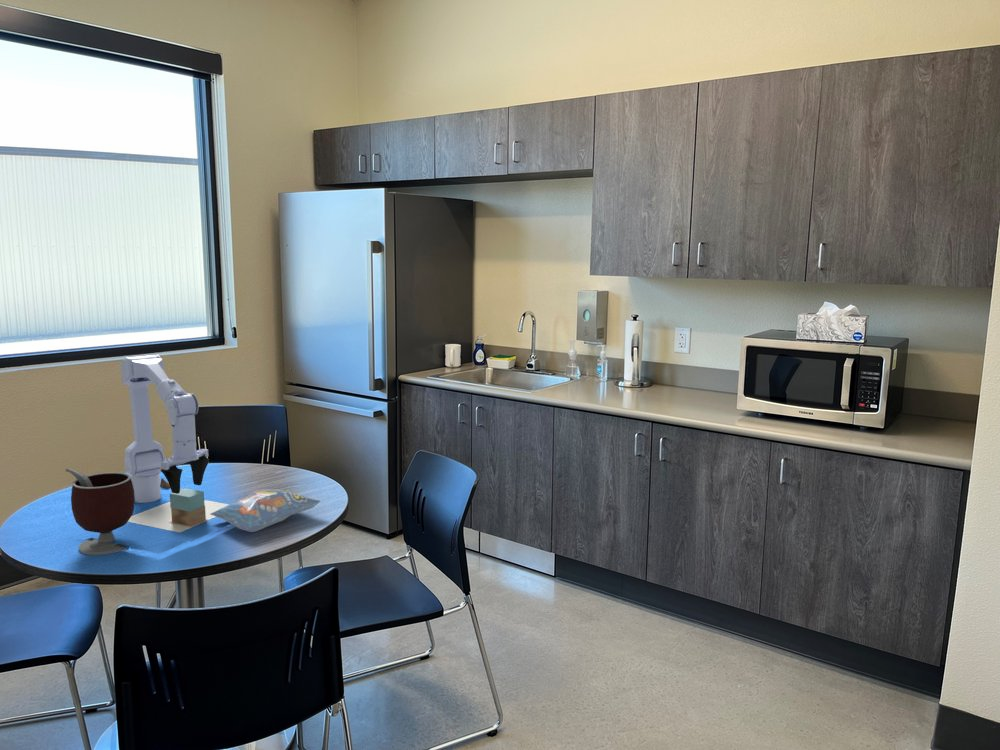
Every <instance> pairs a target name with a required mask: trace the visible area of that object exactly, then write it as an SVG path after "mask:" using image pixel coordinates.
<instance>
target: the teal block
mask: <svg viewBox="0 0 1000 750" xmlns="http://www.w3.org/2000/svg"><path fill="white" fill-rule="evenodd" d="M204 500H205V492H204V491H202V490H201V491H200V490H195V489H191V488H190V489H189V488H185V487H184V488H180V493H178V494H176V493H172V492H170V493H169V502H170V507H171V508H174V509H179V510H185V511H190V512H191V511H193V510H196V509H198V508H201V507H203V506H205V504H204Z"/></svg>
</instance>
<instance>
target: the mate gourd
mask: <svg viewBox="0 0 1000 750" xmlns="http://www.w3.org/2000/svg"><path fill="white" fill-rule="evenodd" d="M65 472H68V473H70V474H71V475H73V477H75V478H76V479H74V480H73V482H71V483H72V488H71V493H70V495H71V496H70V503H71V511H72V512H71V513H72V515H73V519H74V521H75V523H76V524H77V525H78V526H79V527H80V528H81V529H83V530H84V531H87V532H91V533H98V534H99V536H98V538H92V537H91V538H87V539H86V540H84V541H81V543H79V545H78V551H79V552H80V554H84V555H89V556H101V555H108V554H109V555H110V554H114V553H117V552H121V551H124V550H126V549H127V548H129V547H130V546H127V545H123V544H120V543H115V542H114V541H115V538H116V536H115V534H114V532H113V531H115V530H117V529H120V528H121V527H123V526H126V524H127V523H129V522H128V520H129V519H130V518H131V516H133V514H134V511H135V510H134V509H135V503H136V502H135V497H134V488H133V484H132V481H131V476H130V475H129V473H127V472H126V473H125V472H119V471H118V472H116V471H115V472H114V471H113V472H111V471H110V472H101V473H100V472H99V473H93V474H90V475H85V474H84V473H82V472H79V471H77V470H74V469H72V468H68V467H66V468H65Z"/></svg>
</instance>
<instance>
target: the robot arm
mask: <svg viewBox="0 0 1000 750" xmlns="http://www.w3.org/2000/svg"><path fill="white" fill-rule="evenodd" d="M120 372H121V380H122V384H123V385H124V386H128V392H129V400H130V401H129V402H130V410H131V411H130V412H131V420H132V431H133V438H134V440H133V442H132V443H130V445H128V446H127V447H126V448H125V450H124V460H123V461H124V468H125V471H126V473H127V474H129V475H130V476H131V481H132V484H133V488H134V497H135V503H138V504H139V503H140V504H141V503H142V504H143V503H145V504H146V503H152V502H156V501H158V500H160V499H162V493H161V487H160V484H161V478H160V477H161V476H160V475H161V474H160V473H162V474H163V476H164V477H165V478H166V481H167V482H168V483H169V485H170V487H169V488H170V491H171V493H176V494H178V493H180V490H181V477H182V473H183V469H182V468H179V467H178V466H181V465H184V464H186V463H189V466H190V468H191V473H192V483H193V485H194V486H195V485H196V486H201V485H202V483H203V478H204V474H205V471H206V469H207V466H208V465H209V464H210V458H208V457H209V449H206V448H200V449H197V435H196V432H197V431H196V417H195V416H196V415H197V414H198V413H199V401H198V399H197V397H196V396H197V395H195V393H189V392H186V391H185V390H184V389H183V387H181V385H180V384H179V383H178V382H177V381H176V380H175V379H172V378H171V379H170V378H169V377H168V375H167V374H166V371H165V364H164V359H163V358H162V357H161V356H160V355H159V354H153V355H144V356H143V355H141V356H140V355H139V356H131V357H128V356H126V357H124V358H123V359H122V361H121V364H120ZM151 383H152V384H153V385H154V386H155V387H156V394H157V395H158V397H159V398H160V399H161V400H162V401H163V403H164V404H165V406H166V412H167V415H168V420H169V424H171V434H172V435H171V437H172V438H171V439H172V453H173V455H172V456H171V457H169V458H167V459H166V455H165V453H164V448H163V444H161V443H160V442H158V441H156V440H154V436H153V427H152V426H153V425H152V417H151V416H152V415H151V408H150V407H151V406H150V397H149V395H150V394H149V386H150V385H151Z"/></svg>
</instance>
